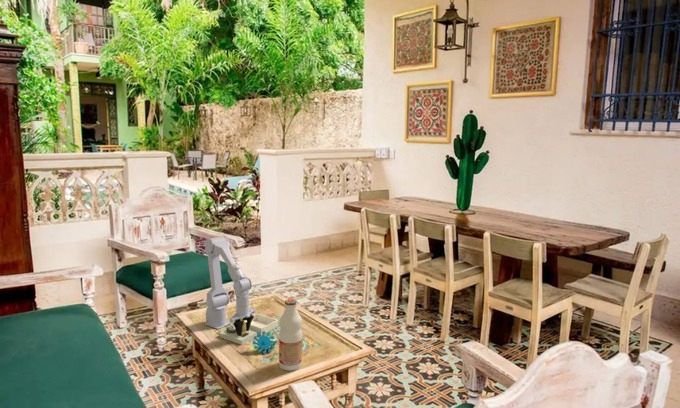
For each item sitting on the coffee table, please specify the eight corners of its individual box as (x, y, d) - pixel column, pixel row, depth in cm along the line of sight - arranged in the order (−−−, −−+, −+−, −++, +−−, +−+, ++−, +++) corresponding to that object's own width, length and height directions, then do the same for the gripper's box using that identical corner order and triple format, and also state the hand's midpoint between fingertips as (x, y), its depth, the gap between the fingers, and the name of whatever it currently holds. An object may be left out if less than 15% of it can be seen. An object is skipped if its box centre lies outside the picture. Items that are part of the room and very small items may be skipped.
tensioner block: (219, 336, 216) (219, 328, 215) (234, 329, 224) (234, 321, 224) (241, 344, 209) (241, 336, 208) (256, 336, 217) (256, 328, 216)
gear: (253, 353, 198) (252, 330, 204) (250, 357, 202) (250, 335, 208) (278, 353, 202) (277, 330, 208) (275, 357, 206) (274, 335, 212)
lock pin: (236, 338, 214) (236, 320, 213) (242, 335, 218) (242, 317, 216) (243, 341, 212) (242, 322, 211) (249, 337, 216) (249, 319, 214)
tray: (239, 328, 225) (239, 321, 225) (256, 319, 236) (256, 313, 235) (261, 335, 218) (261, 328, 218) (278, 326, 228) (278, 319, 228)
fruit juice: (291, 373, 186) (292, 307, 181) (274, 366, 191) (274, 301, 186) (306, 364, 193) (307, 300, 188) (289, 357, 198) (290, 294, 194)
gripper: (237, 311, 204) (238, 340, 206) (260, 301, 216) (260, 328, 218) (226, 307, 208) (226, 336, 210) (248, 298, 220) (248, 325, 222)
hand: (242, 332), depth 214 cm, fingers open, 4 cm apart
